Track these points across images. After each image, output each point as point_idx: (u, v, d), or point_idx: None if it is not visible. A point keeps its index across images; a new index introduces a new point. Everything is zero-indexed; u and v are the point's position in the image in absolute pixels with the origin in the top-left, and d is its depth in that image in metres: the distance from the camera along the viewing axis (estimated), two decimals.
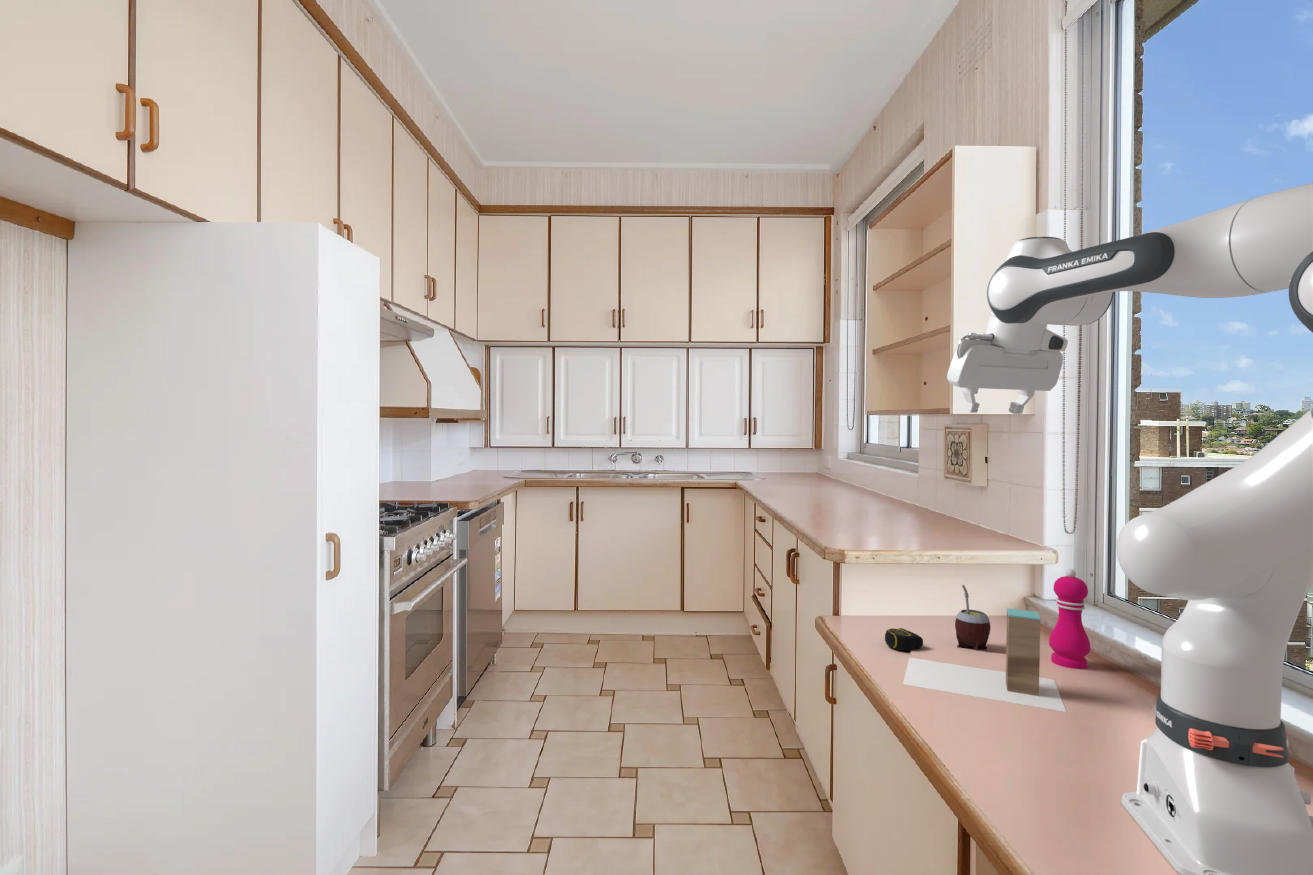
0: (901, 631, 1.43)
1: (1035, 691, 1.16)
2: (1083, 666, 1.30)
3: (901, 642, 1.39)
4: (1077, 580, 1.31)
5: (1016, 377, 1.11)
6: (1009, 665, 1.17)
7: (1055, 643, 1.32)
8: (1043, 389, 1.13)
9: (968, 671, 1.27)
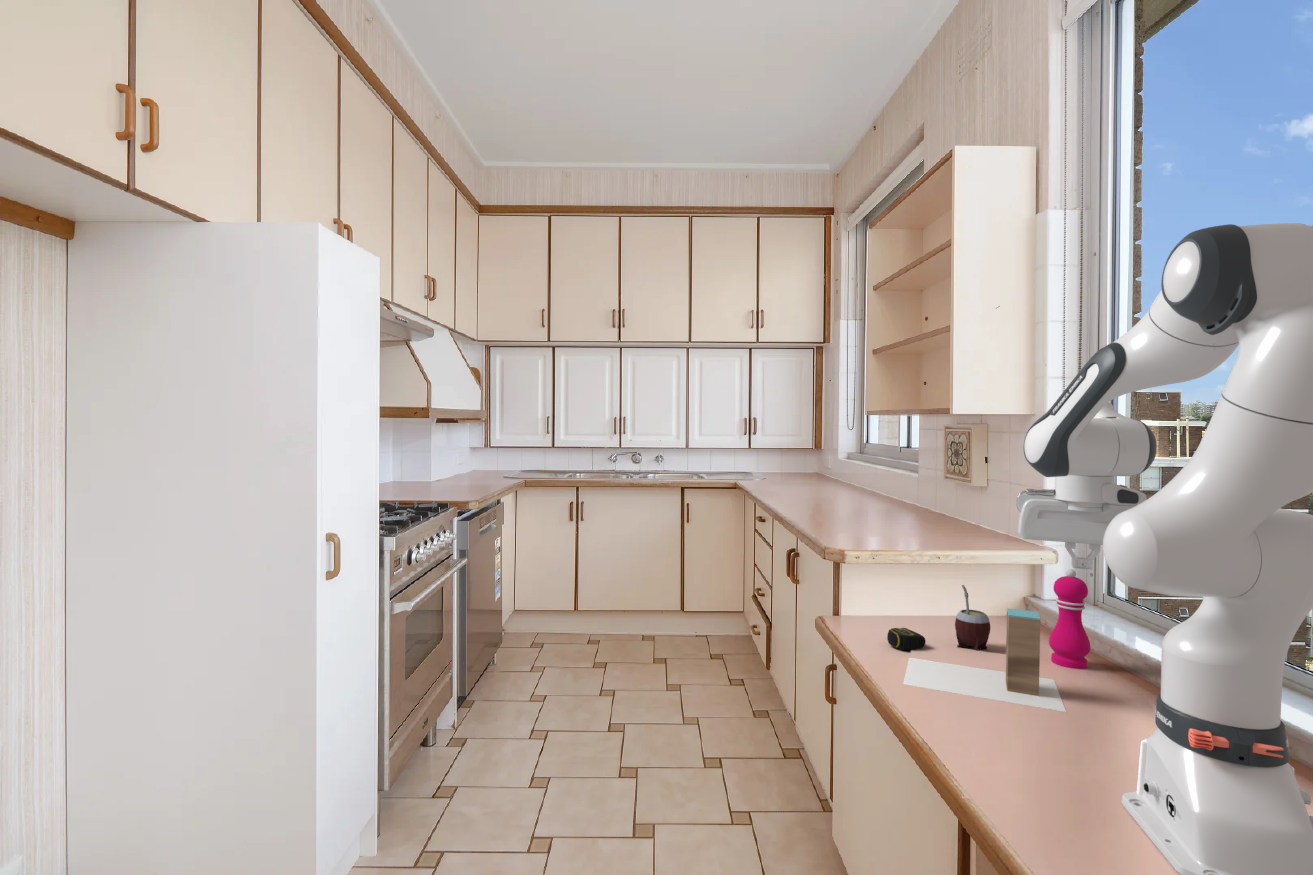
0: (903, 630, 1.43)
1: (1035, 691, 1.16)
2: (1083, 666, 1.30)
3: (903, 641, 1.40)
4: (1077, 580, 1.31)
5: (1093, 531, 1.13)
6: (1009, 665, 1.17)
7: (1055, 643, 1.32)
8: None
9: (968, 671, 1.27)
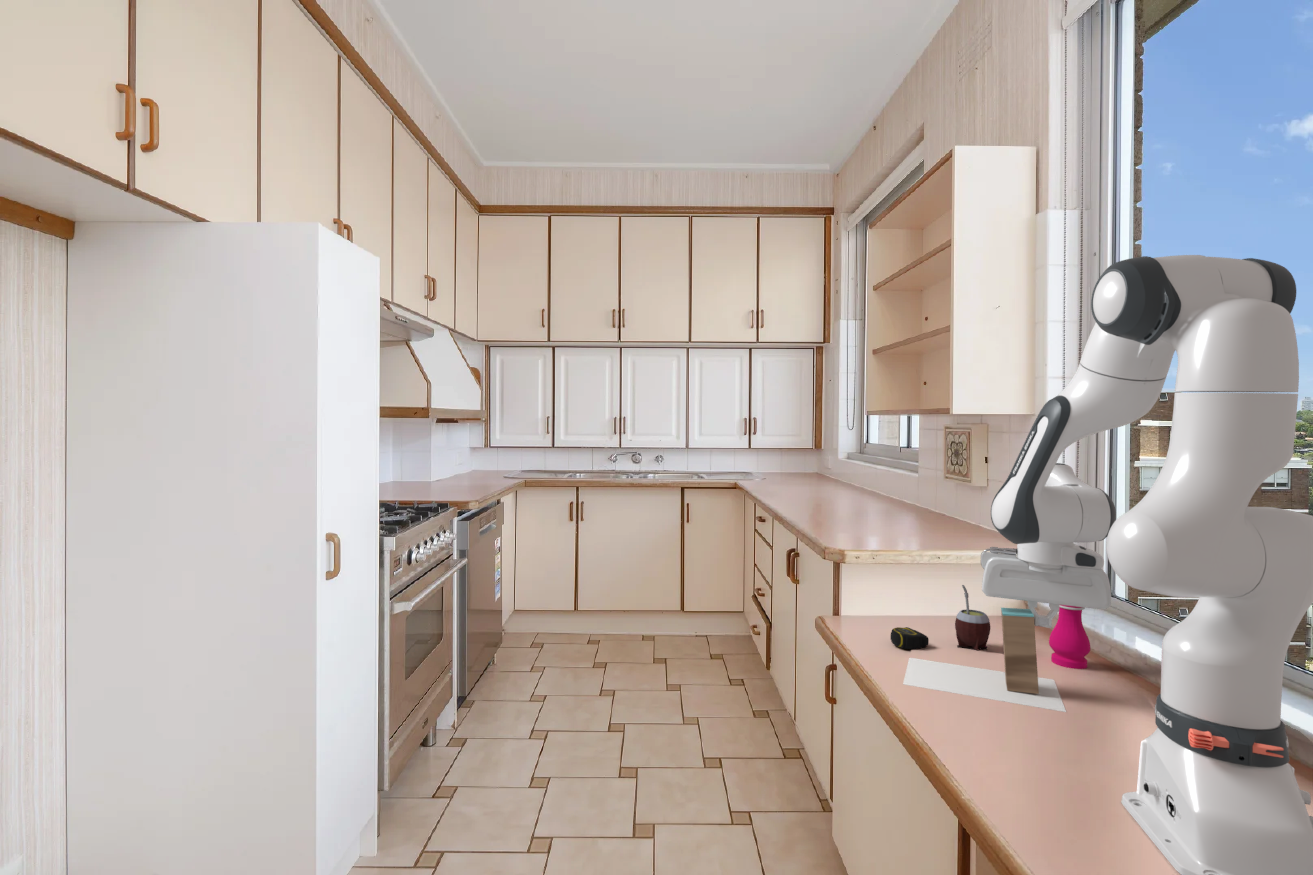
0: (907, 630, 1.44)
1: (1035, 689, 1.16)
2: (1083, 666, 1.30)
3: (906, 640, 1.40)
4: None
5: (1052, 591, 1.15)
6: (1007, 664, 1.18)
7: (1055, 643, 1.32)
8: (1094, 607, 1.13)
9: (968, 671, 1.27)
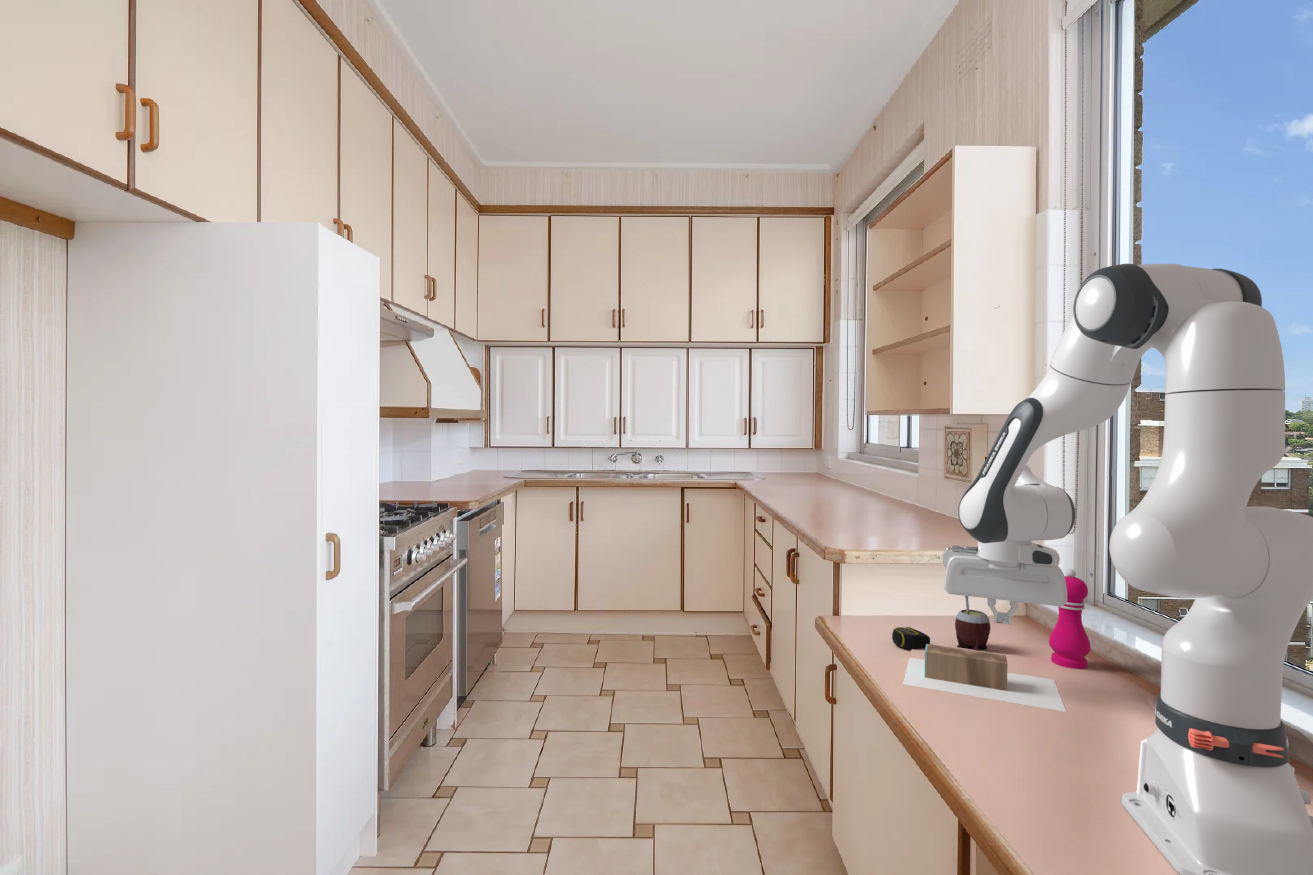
0: (908, 630, 1.44)
1: (1002, 666, 1.18)
2: (1083, 666, 1.30)
3: (908, 640, 1.40)
4: (1077, 580, 1.31)
5: (1011, 589, 1.18)
6: (978, 684, 1.20)
7: (1055, 643, 1.32)
8: (1051, 603, 1.15)
9: None
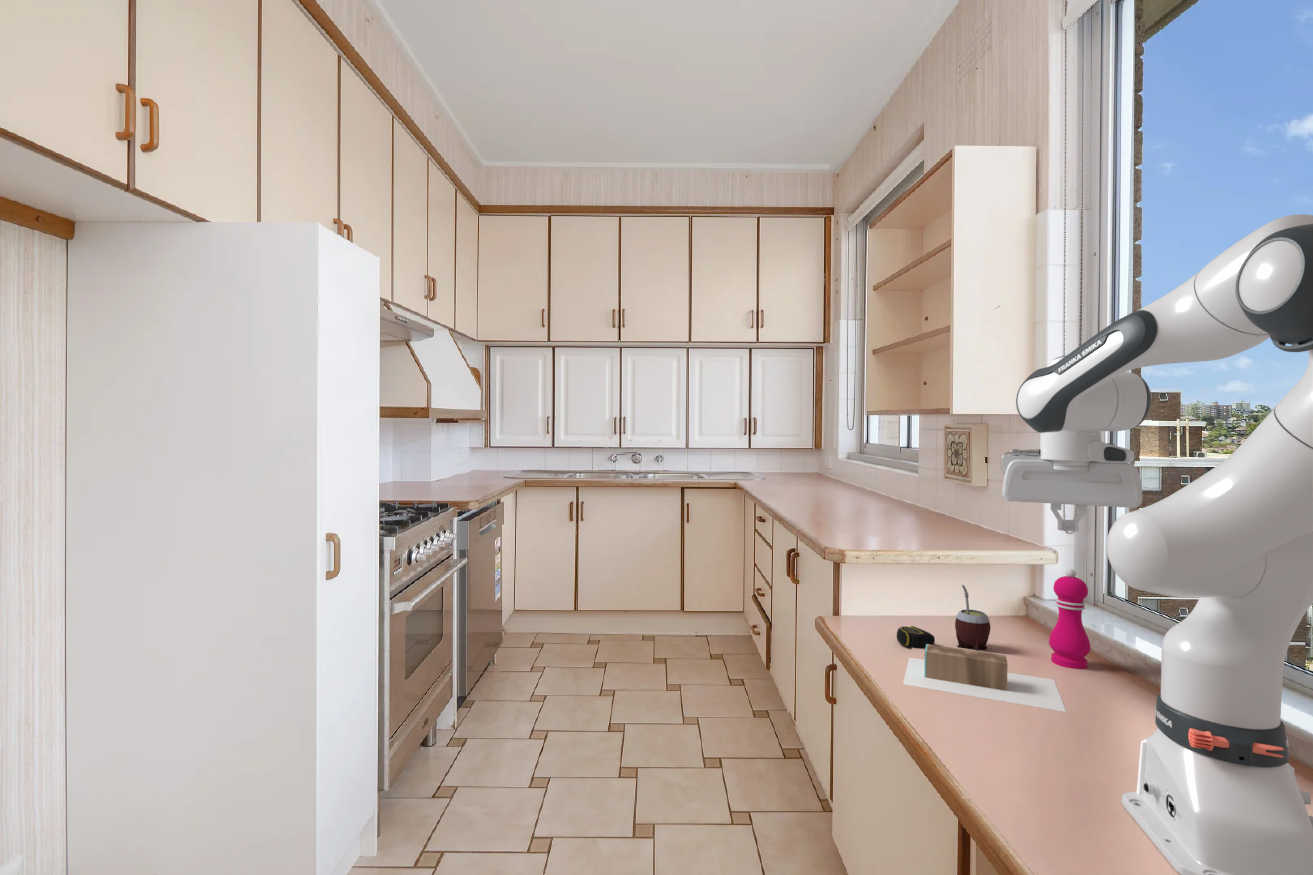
0: (913, 629, 1.45)
1: (1002, 666, 1.18)
2: (1083, 666, 1.30)
3: (913, 639, 1.41)
4: (1077, 580, 1.31)
5: (1079, 491, 1.08)
6: (978, 684, 1.20)
7: (1055, 643, 1.32)
8: (1124, 505, 1.06)
9: None
